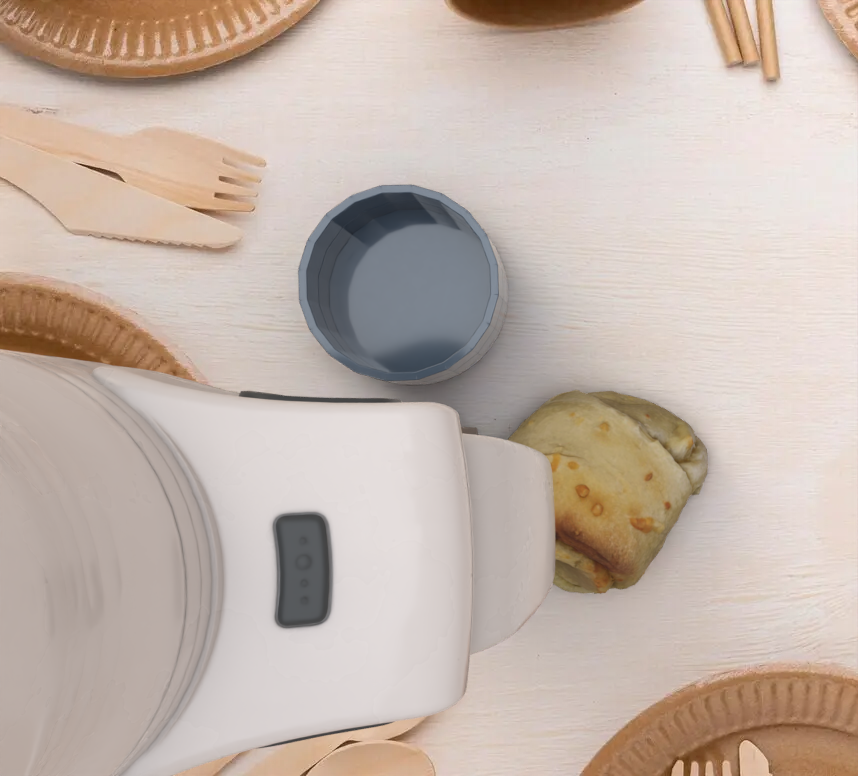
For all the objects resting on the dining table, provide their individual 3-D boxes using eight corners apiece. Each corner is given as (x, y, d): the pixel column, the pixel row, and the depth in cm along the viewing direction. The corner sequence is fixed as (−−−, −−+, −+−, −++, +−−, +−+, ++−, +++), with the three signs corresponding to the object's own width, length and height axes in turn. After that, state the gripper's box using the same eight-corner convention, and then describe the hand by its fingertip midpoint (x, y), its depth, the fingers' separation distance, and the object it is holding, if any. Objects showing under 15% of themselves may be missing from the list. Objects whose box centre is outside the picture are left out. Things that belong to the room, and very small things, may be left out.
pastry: (484, 592, 66) (466, 615, 58) (481, 393, 66) (462, 388, 58) (709, 584, 67) (721, 605, 59) (703, 388, 67) (715, 382, 59)
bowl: (327, 388, 66) (300, 384, 60) (322, 206, 66) (295, 186, 61) (511, 381, 67) (501, 377, 61) (505, 202, 67) (495, 182, 62)
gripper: (-549, 768, 20) (-73, 631, 34) (535, 708, 21) (568, 600, 35) (-546, 436, 20) (-75, 434, 34) (525, 398, 22) (561, 411, 35)
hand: (257, 518), depth 35 cm, fingers closed on bottle, 5 cm apart
